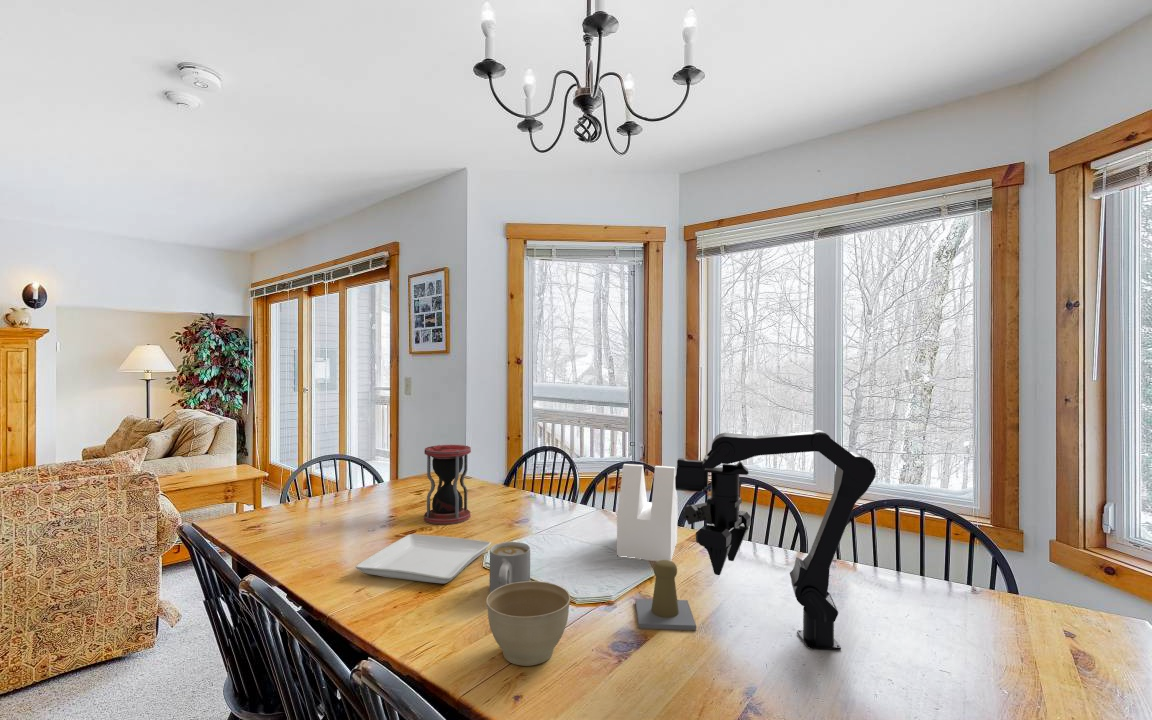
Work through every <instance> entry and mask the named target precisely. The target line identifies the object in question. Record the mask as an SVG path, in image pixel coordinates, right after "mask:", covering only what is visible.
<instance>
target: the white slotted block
mask: <svg viewBox="0 0 1152 720" xmlns="http://www.w3.org/2000/svg"><path fill="white" fill-rule="evenodd" d="M644 469H645V468H644V464H636V463H624V464H623V465H622V473H621V480H620V488H619V489H620V490H619V491H620V492H619V498H618V506H617V507H618V508H617V514H616V515H617V516H616V556H617V555H618V556H627V557H635V558H641V559H646V560H645V561H651V562H657V561H659V560H669V561H672V560H673V557H674V556H673V555H674V553H675V549H676V547H675V546H677V543H678V492H677V491H678V490H676V487H675V476H676V473H677V472H676V467H675V466H668V465H667V466H665V465H655V466H654V471H653V472H654V474H653V483H652V484H653V487H652V497H651V498H652V499H651V501H648V499H647V491H646V490H647V489H646V480H645V472H644ZM641 559H640V560H641Z"/></svg>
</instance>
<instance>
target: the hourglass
mask: <svg viewBox="0 0 1152 720" xmlns="http://www.w3.org/2000/svg"><path fill="white" fill-rule="evenodd" d="M471 448H472V447H471V446H468V445H463V444H441V445H440V444H438V445H433V446H427V447H425V448H424V455H426V460H427V462H426V476H427V478H428V480H429V481H430V484H431V485H430V490H429V491H428V492H427V496H426V512H425V513H424V514H423V520H424V522H425V523H428V524H432V525H453V524H459V523H464V522H466V521H468V520H469V519H470V518H471V511H470V510H469V509H468V489H467V486H466V485H465V482H464V480H465V477H466V474H467V473H468V455H469V454H471V453H472V449H471ZM431 458H432V460H431ZM431 461H432V464H431ZM431 465H432V466H431ZM431 467H432V470H433V471H434V474H435V475H436V476H437V477H438V485H437V489H436V490H437V491H436V492H435V493H434V496H433V497H432V503H431V496H432V493H433V492H434V491H435V487H436V482H435V480H434V479H433V478H432V476H431V475H432V474H431ZM463 469H464V470H463ZM461 471H463V472H462V474H461V475H460V473H461ZM459 475H460V477H459ZM458 481H459V483H460V486H461V487H462V489H463V491H464V492H463V496H464V497H463V496H462V494H461V492H460V491H459V490H458ZM452 482H453V483H452ZM431 508H432V509H431Z"/></svg>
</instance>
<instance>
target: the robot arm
mask: <svg viewBox="0 0 1152 720" xmlns="http://www.w3.org/2000/svg"><path fill="white" fill-rule="evenodd" d="M809 452H818V453H820V454H821V455H823V456H824V457H825V458H826V459H828V461H830V462H831V463H832V464H834V465H835V466H836V467H835V472H834V473H835V474H834V481H833V492H832V495H831V498H830V500H829V503H828V505H827V507H826V510H825V513H824V515H823V518H822V521H821V523H820V526H819V528H818V531H817V533H816V536H815V538H814V541H813V543H812V545H811V549H810V550H809V553H808V555H806V556H805V557H804V559H801V558H799V557H796V558H795V561H794V565H793V569H792V570H790V571H789V576H790V577H789V578H790V580H791V586H792V590H793V593H794V596H795V598H796V601H797V603H799V604H800V605H801V606H802V607H803V609H802V610H803V612H802V613H803V614H802V617H803V618H802V619H803V621H802V624H803V625H802V629H798V630H796V634H797V635H798V636H799V638H800V640H801V641H802V642H803V644H804V645H805V646H806V648H807V649H810V650H811V649H813V650H814V649H815V650H837V651H838V650H839V651H840V650H841V649H842V645H840V644H839V642H838V641H837V640H836V638H835V622H836V620H837V618H838V615H839V610H838V609H837V606H836V603H835V601H834V600H833V598H832V595H831V593H830V592H829V591H828V590H829V585H830V584H829V583H830V569H831V564H832V562H833V560H834V558H835V555H836V553H837V550H838V547H839V545H840V543H841V539H842V537H843V536H844V534H845V533H844V532H845V530H846V527H847V525H848V523H849V520H850V517H851V516H852V512H853V510H854V508H855V505H856V503H857V502H858V501H859V500H860V499H861V498H862V497H863V496H864V495H865V493H866V492H867V491H868V490H869V488H870V487H871V485H872V483H873V482H874V480H875V479H876V474H877V470H876V467H875V466H874V463H873V462H872V461H871V460H870V459H868V458H867V457H865V456H864V455H863V454H861V453H859V452H855V451H848V450H847V449H845V448H844V447H843V446H841V445H840V444H839V443H838V442H836V441H835V440H833V438H831V436H830V435H828V433H827V432H825V431H824V430H820V429H815V430H811V431H803V432H792V433H790V432H789V433H779V434H766V435H765V434H764V435H749V434H748V435H747V434H743V433H742V434H741V433H732V432H731V433H729V432H722V433H719V434H717V435H716V436H715V437H714V438H713V439H712V442H711V449H710V450H709V452H708V453H707V454H706V455H704V457H703V458H702V459H703V460H700V459H699V460H698V459H686V458H680V457H679V458H677V460H676V472H675V473H676V476H675V487H676V490H677V491H679V492H680V491H681V492H694V493H703V491H704V490H705V489H707V488H708V487H709V474H711V476H710V497H709V498H708V499H706V502H702V503H698V504H695V503H693V504H690V505H689V504H687V505H686V506H684V510H683V511H682V513H683V514H682V518H683V519H684V520H685V521H687V524H688V525H694V524H695V523H699V522H704V521H705V525H703V526H702V527H701V528H700V529H698V530H697V531H696V532H695V543H697V544H698V545H700V546H702V547H704V549H706V551H707V554H708V556H709V559H710V560H709V561H710V563H711V566H712V571H713V573H714V574H715V575H716V576H720V575H721V574H722V571H723V568H724V565H725V563H726V560H728V561H729V562H734V561H735V559H736V557H737V555H738V552H739V550H740V547H741V545H742V543H743V541H744V539H745V536H747V533H748V531H749V530H750V528H749V527H750V526H751V525H752V521H751V520H752V519H751V518H752V516H751V515H750V514H749V513H748V512H747V511H744V510H740V505H741V504H742V499H743V498H742V497H740V475H743V476H747V475H749V469H748V468H747V467H746V466H745V465H744V464H743V461H745V460H748V459H750V458H754V457H758V456H769V455H770V456H772V455H781V454H782V455H783V454H784V455H785V454H797V453H798V454H799V453H809ZM733 463H736V464H733ZM719 465H722V467H719Z"/></svg>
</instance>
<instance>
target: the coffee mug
mask: <svg viewBox="0 0 1152 720" xmlns="http://www.w3.org/2000/svg"><path fill="white" fill-rule="evenodd" d="M525 581H531V546H530V545H529V544H526V543H524V542H519V541H505V542H499V543H497V544H494V545H492V546H491V547H490V548H489V594H490V593H491V592H492V591H494V590H495V589H497V588H499V587H501V586H504V585H507V584H511V583H516V582H525Z"/></svg>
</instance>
